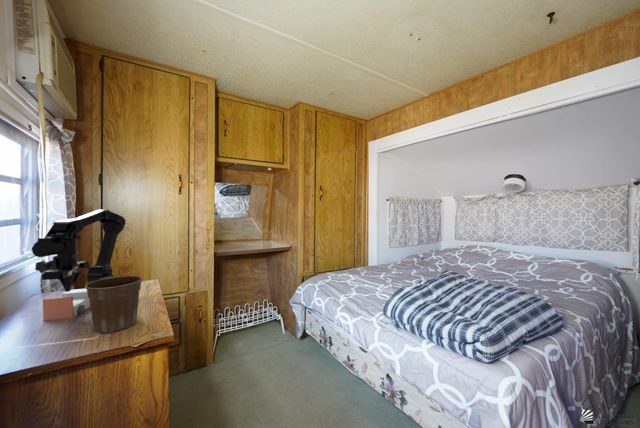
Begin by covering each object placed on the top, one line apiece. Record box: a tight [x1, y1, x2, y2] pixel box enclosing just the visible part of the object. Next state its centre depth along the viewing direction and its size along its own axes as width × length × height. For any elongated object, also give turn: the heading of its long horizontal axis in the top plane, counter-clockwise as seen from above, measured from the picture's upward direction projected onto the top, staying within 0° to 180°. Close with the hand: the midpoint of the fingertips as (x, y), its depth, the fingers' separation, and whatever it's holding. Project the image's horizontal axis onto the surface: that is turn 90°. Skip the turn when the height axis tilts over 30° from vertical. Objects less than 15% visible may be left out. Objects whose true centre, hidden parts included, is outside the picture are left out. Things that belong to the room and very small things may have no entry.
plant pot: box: [84, 275, 143, 334], centre depth 94 cm, size 16×16×16 cm
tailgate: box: [42, 296, 75, 322], centre depth 98 cm, size 1×9×8 cm, turn 107°
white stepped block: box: [61, 288, 91, 318], centre depth 106 cm, size 15×11×7 cm
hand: (68, 291), depth 104 cm, fingers closed
